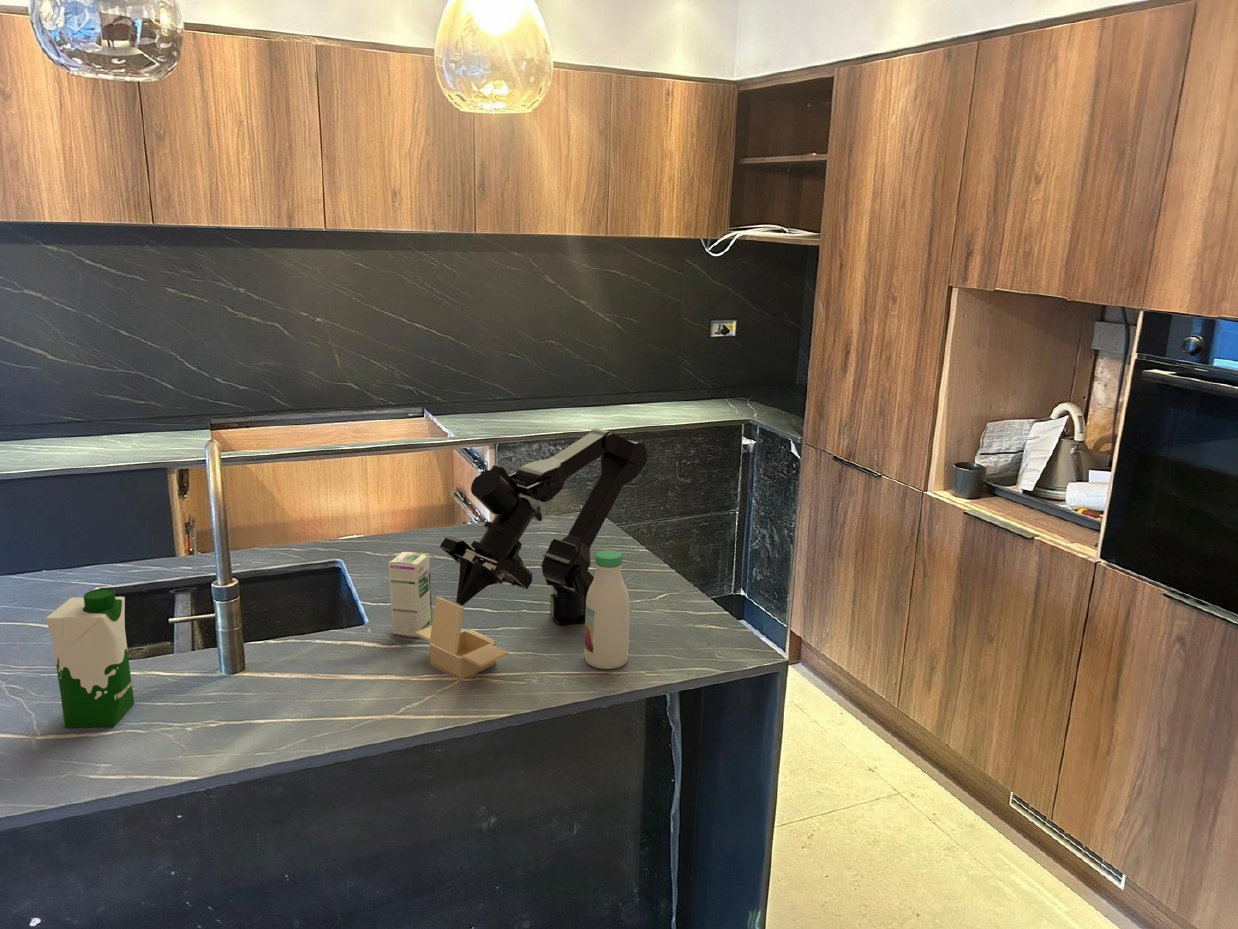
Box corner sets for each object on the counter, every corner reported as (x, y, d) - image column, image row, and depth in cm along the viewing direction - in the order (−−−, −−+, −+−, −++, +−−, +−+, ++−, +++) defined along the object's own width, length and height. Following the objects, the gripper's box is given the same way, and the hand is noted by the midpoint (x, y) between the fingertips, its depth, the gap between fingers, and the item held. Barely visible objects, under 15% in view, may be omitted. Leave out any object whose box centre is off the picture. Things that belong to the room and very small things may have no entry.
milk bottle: (633, 654, 162) (637, 549, 157) (619, 673, 155) (622, 564, 150) (593, 647, 165) (595, 543, 160) (577, 666, 158) (579, 558, 153)
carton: (451, 640, 166) (451, 618, 165) (517, 671, 155) (517, 648, 154) (413, 656, 160) (412, 633, 158) (478, 690, 149) (478, 665, 148)
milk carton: (118, 730, 134) (102, 605, 129) (54, 731, 134) (35, 606, 128) (143, 700, 143) (128, 582, 138) (83, 701, 142) (66, 582, 137)
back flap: (432, 642, 155) (439, 596, 154) (456, 653, 151) (463, 607, 150) (429, 642, 154) (436, 597, 154) (453, 654, 150) (460, 607, 150)
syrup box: (420, 638, 167) (418, 564, 163) (390, 634, 168) (387, 561, 164) (433, 625, 172) (430, 553, 168) (404, 621, 173) (401, 550, 169)
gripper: (567, 563, 159) (521, 641, 153) (495, 538, 171) (450, 609, 165) (536, 531, 151) (486, 611, 146) (463, 507, 163) (414, 580, 157)
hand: (459, 604), depth 154 cm, fingers closed
